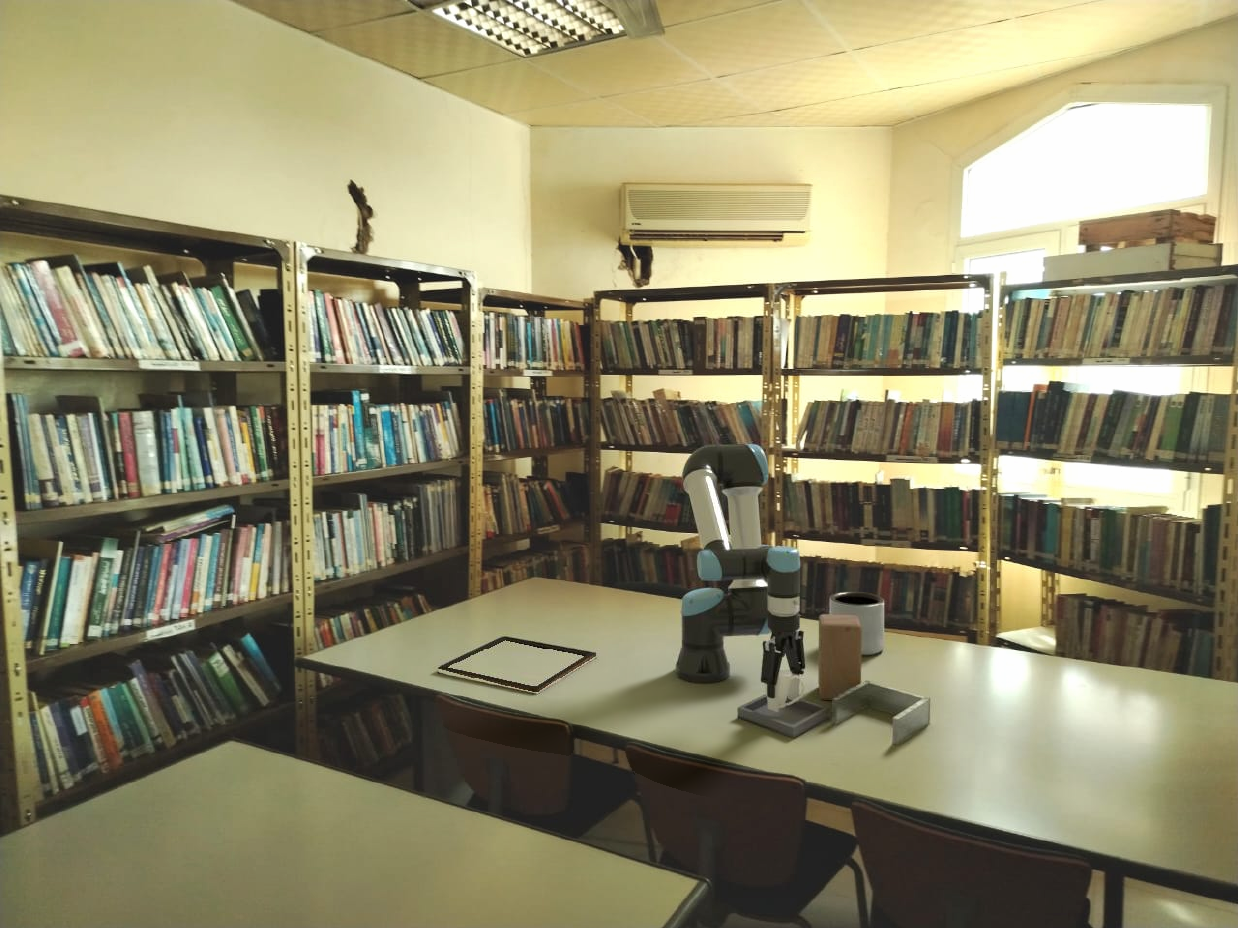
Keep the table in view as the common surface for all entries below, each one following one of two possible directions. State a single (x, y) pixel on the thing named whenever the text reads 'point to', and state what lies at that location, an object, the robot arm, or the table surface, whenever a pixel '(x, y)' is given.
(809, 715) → the tray
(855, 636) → the wooden block
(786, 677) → the cup
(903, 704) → the bay
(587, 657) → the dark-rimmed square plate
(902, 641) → the table surface
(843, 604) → the planter
